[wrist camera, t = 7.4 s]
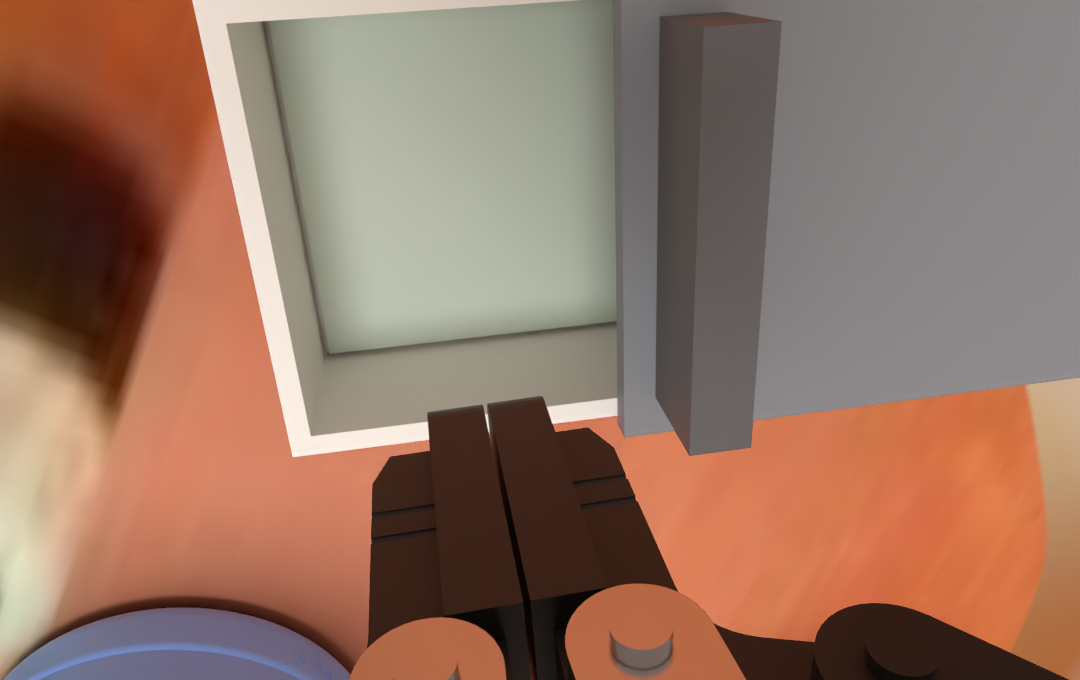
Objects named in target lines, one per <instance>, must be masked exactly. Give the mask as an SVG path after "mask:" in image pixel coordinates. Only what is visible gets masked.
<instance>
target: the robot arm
mask: <svg viewBox="0 0 1080 680" xmlns="http://www.w3.org/2000/svg"><path fill="white" fill-rule="evenodd" d="M487 413H488V423H489V432H490V437H489V432H488V427H487V422H486V417H485V412H484V408H483V405H474V406H467V407H460V408H453V409H446V410H439V411H432V412H427V419H428V431H429V443H430V451H426V452H419V453H413V454H406V455H399V456H392V457H390V458H389V459H388V461H387V463H386V464H385V466H384V467H383V469H382V470H381V472H380V473H379V475H378V477H377V478H376V480H375V481H374V483H373V489H372V526H371V540H372V544H371V562H370V599H369V635H368V646H367V650H366V651H365V652H364V653H363V654H362V655H361V657H360V658H359V660H358V661H357V663H356V664H355V666H354V669H353V671H352V673H351V675H350V679H349V680H1068V679H1066V678H1064V677H1062V676H1060V675H1057V674H1055V673H1053V672H1051V671H1049V670H1047V669H1044V668H1042V667H1040V666H1038V665H1036V664H1033V663H1031V662H1029V661H1027V660H1025V659H1022V658H1020V657H1018V656H1016V655H1014V654H1012V653H1010V652H1007V651H1005V650H1003V649H1001V648H999V647H996V646H994V645H992V644H990V643H988V642H986V641H983V640H981V639H979V638H977V637H975V636H972V635H970V634H968V633H966V632H964V631H962V630H959V629H957V628H955V627H953V626H951V625H948V624H946V623H944V622H942V621H940V620H938V619H935V618H933V617H931V616H929V615H926V614H924V613H921V612H919V611H916V610H913V609H910V608H906V607H902V606H897V605H891V604H881V603H869V604H859V605H855V606H850V607H847V608H845V609H842V610H840V611H838V612H836V613H835V614H833V615H832V616H830V617H829V618H828V619H827V620H826V621H825V622H824V623H823V624H822V625H821V627H820V629H819V631H818V632H817V636H816V639H815V642H805V641H795V640H784V639H773V638H762V637H755V636H749V635H744V634H741V633H737V632H733V631H730V630H728V629H725V628H723V627H720V626H718V625H716V624H714V623H713V622H712V620H711V619H710V617H709V616H708V615H707V613H706V612H705V611H704V610H703V609H702V608H701V607H700V606H699V605H698V604H697V603H695V602H694V601H693V600H691V599H690V598H688V597H687V596H685V595H683V594H681V593H679V592H678V590H677V588H676V587H675V585H674V582H673V580H672V578H671V576H670V573H669V571H668V569H667V567H666V564H665V562H664V560H663V558H662V555H661V553H660V551H659V549H658V546H657V544H656V542H655V539H654V537H653V535H652V533H651V530H650V528H649V526H648V524H647V521H646V519H645V517H644V515H643V512H642V510H641V508H640V506H639V503H638V501H637V502H636V499H635V494H634V492H633V490H632V488H631V485H630V483H629V481H628V479H626V475H625V472H624V470H623V467H622V465H621V463H620V461H619V458H618V456H617V454H616V452H615V449H614V447H612V446H611V445H610V444H608V443H607V442H606V441H605V440H603V439H602V438H601V437H600V436H598V435H597V434H596V433H594V432H593V431H592V430H591V429H589V428H581V429H574V430H568V431H561V432H555V430H554V427H553V424H552V421H551V418H550V415H549V412H548V409H547V407H546V404H545V401H544V398H543V396H537V397H530V398H523V399H515V400H508V401H501V402H494V403H487ZM490 441H491V442H490Z"/></svg>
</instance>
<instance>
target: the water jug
mask: <svg viewBox="0 0 1080 680" xmlns="http://www.w3.org/2000/svg"><path fill="white" fill-rule="evenodd" d="M349 679H350V674H349V672H348V671H347V670H346V669H345V668H344V667H343V666H342V665H341V664H340V663H339V662H338V661H337V660H336V659H335V658H334V657H333V656H331V655H330V654H329V653H328V652H327V651H325V650H324V649H323V648H321V647H320V646H318V645H317V644H315V643H314V642H312V641H311V640H309V639H307V638H306V637H304V636H302V635H300V634H298V633H296V632H294V631H292V630H290V629H288V628H285V627H283V626H281V625H278V624H275V623H273V622H270V621H267V620H264V619H261V618H257V617H254V616H250V615H246V614H241V613H236V612H231V611H225V610H217V609H208V608H188V607H178V608H159V609H149V610H141V611H135V612H130V613H125V614H120V615H116V616H112V617H108V618H105V619H101V620H98V621H95V622H92V623H89V624H86V625H84V626H81V627H79V628H76V629H74V630H72V631H70V632H67V633H65V634H63V635H61V636H59V637H58V638H56V639H54V640H52V641H50V642H49V643H47V644H45V645H44V646H42V647H41V648H39V649H38V650H36V651H35V652H33V653H32V654H31V655H29V656H28V657H27V658H25V659H24V660H23V661H22V662H21V663H19V664H18V665H17V666H16V667H15V668H14V669H13V670H12V671H11V672H10V673H9V674H8V675H7V676H6V677H5V678H4V679H3V680H349Z"/></svg>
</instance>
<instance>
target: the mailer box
mask: <svg viewBox="0 0 1080 680" xmlns="http://www.w3.org/2000/svg"><path fill="white" fill-rule="evenodd" d="M192 1H193V6H194V10H195V15H196V19H197V24H198V28H199V33H200V38H201V42H202V47H203V51H204V56H205V60H206V65H207V69H208V74H209V78H210V83H211V88H212V92H213V97H214V101H215V106H216V110H217V115H218V119H219V124H220V128H221V133H222V138H223V142H224V147H225V151H226V156H227V160H228V165H229V169H230V174H231V179H232V183H233V188H234V192H235V197H236V201H237V206H238V210H239V215H240V219H241V224H242V229H243V233H244V238H245V242H246V247H247V251H248V256H249V260H250V265H251V269H252V274H253V279H254V283H255V288H256V292H257V297H258V301H259V306H260V310H261V315H262V320H263V324H264V329H265V333H266V338H267V342H268V347H269V351H270V356H271V360H272V365H273V370H274V374H275V379H276V383H277V388H278V392H279V397H280V401H281V406H282V410H283V415H284V420H285V424H286V429H287V433H288V438H289V442H290V447H291V451H292V456H293V457H298V456H306V455H314V454H321V453H329V452H337V451H345V450H353V449H360V448H368V447H376V446H384V445H392V444H399V443H407V442H415V441H423V440H429V431H428V419H427V412H432V411H439V410H446V409H453V408H460V407H467V406H474V405H483V408H484V412H485V417H486V422H487V427H488V432H489V423H488V413H487V403H494V402H501V401H508V400H515V399H523V398H530V397H537V396H543V398H544V401H545V404H546V407H547V409H548V412H549V415H550V418H551V421H552V424H555V423H563V422H571V421H579V420H587V419H594V418H602V417H610V416H618V401H617V317H616V233H615V149H614V65H613V0H192Z"/></svg>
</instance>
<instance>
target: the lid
mask: <svg viewBox="0 0 1080 680" xmlns="http://www.w3.org/2000/svg"><path fill="white" fill-rule="evenodd" d="M613 65H614V149H615V233H616V317H617V401H618V425H619V427H620V429H621V431H622V433H623V435H624V437H632V436H640V435H647V434H655V433H662V432H670V431H675V432H676V434H677V435H678V437H679V439H680V440H681V442H682V444H683V446H684V447H685V449H686V451H687V453H688V454H689V456H693V455H700V454H707V453H715V452H722V451H729V450H737V449H744V448H751V441H752V427H753V421H754V420H761V419H769V418H776V417H784V416H792V415H799V414H807V413H814V412H822V411H830V410H837V409H845V408H852V407H860V406H867V405H875V404H883V403H890V402H898V401H905V400H913V399H921V398H928V397H936V396H943V395H951V394H959V393H966V392H974V391H981V390H989V389H997V388H1004V387H1012V386H1019V385H1027V384H1034V383H1042V382H1050V381H1057V380H1065V379H1072V378H1080V0H613Z"/></svg>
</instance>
